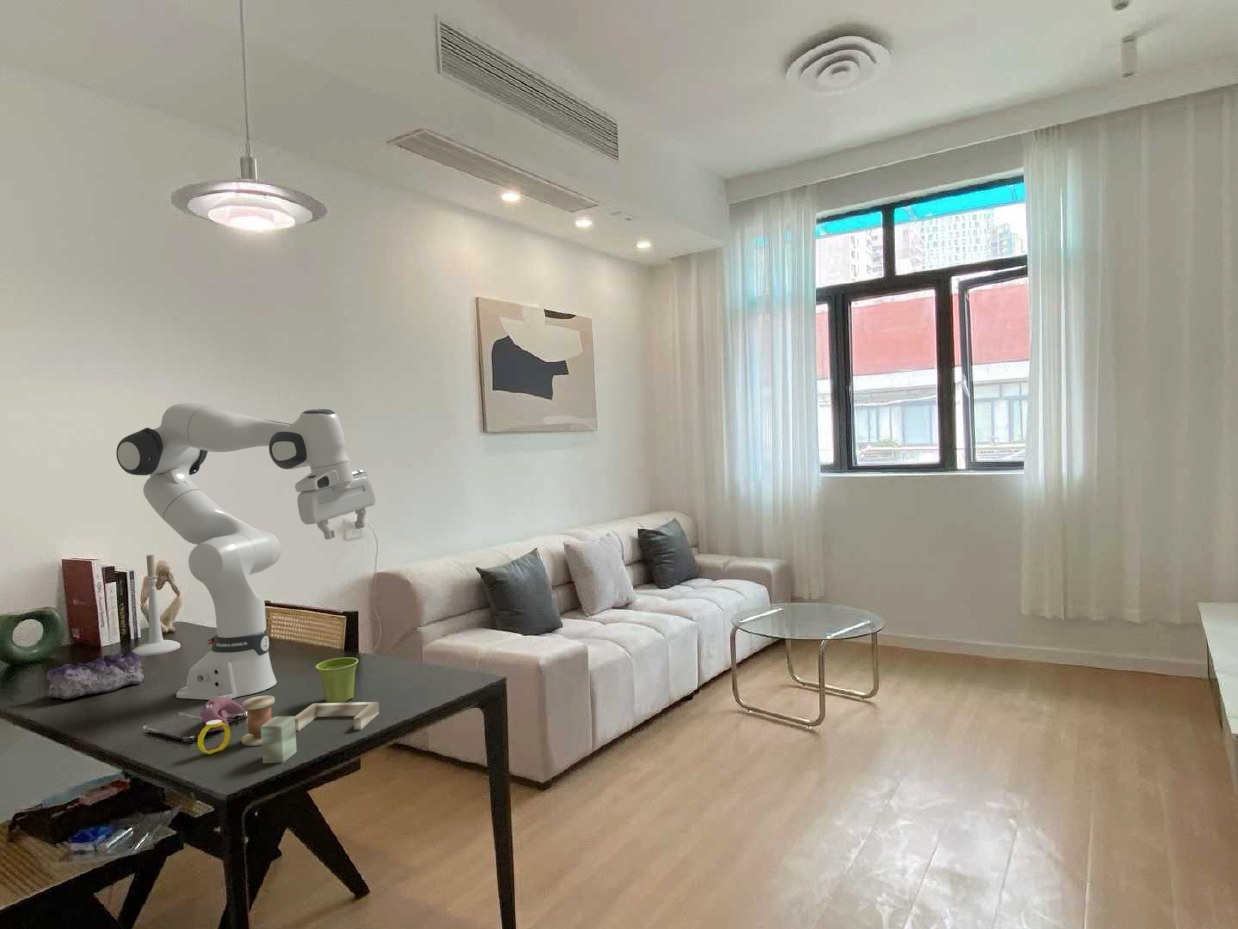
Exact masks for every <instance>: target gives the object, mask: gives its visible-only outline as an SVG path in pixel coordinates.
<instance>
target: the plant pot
mask: <svg viewBox="0 0 1238 929" xmlns="http://www.w3.org/2000/svg"><path fill="white" fill-rule="evenodd" d="M358 663H359V659H358V658H356V657H349V656H348V657H337V658H331V659H327V660H324V661H322V662H319V663H317V664H316V665H315V669H316V670H317V671H318V675H319V676H320V681H321V685H322V689H323V694H324V699H325V703H347V702H348V701H349V700H350V699H353V698H354V695H355V694H354V691H355V690H354V689H355V680H356V679H355V677H356V676H355V675H356V670H357V664H358Z"/></svg>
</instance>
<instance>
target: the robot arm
mask: <svg viewBox="0 0 1238 929" xmlns="http://www.w3.org/2000/svg"><path fill="white" fill-rule="evenodd" d="M346 445H347V444H346V438H345V433H344V430H343V426H342V424H341V421H340V419H339V417H338V415H337V413H336V412H335V411H333V410H331V409H326V408H324V409H323V408H319V409H309V410H304V411H303V412H301V413H300V415H299V417H298V418H297V419H296V420H295V421H294V422H292V423H287V422H282V421H275V420H268V419H263V418H259V417H256V416H252V415H247V414H243V413H240V412H235V411H231V410H228V409H225V408H220V407H217V406H212V405H206V404H201V403H177V404H173V405H171V406H169V407H168V408H167V409H166V410H165V411H164V413H163V415H162V418H161V423H160V425H159V426H158V427H156V428H153V429H152V428H150V427H145V428H143V429H141V430H138V431H136V432H133V433H131V434H129V435H126V436H125V437H123V438H122V439H121V440H120V441H119V442H118V444H117V448H116V451H115V452H116V460H117V463H118V465H119V466H120V468H121V469H122V471H124V472H125V473H127V474H130V475H133V476H150V477H149V478H147V479H146V481H145V483H144V485H143V489H142V490H143V495H144V497H145V499H146V500H147V502H148V504H149V505H150V506H151V508H153V510H154V511H155V513H156V514H157V515H158V516H159V517H160V518H161V519H163V521H164V522H165V523H166V524H167V525H169V527H171V528H172V529H173V530H174V531H175V532H176V533H177V534H178V535H180V537H182V539H184V540H185V541H186V542H188V543H189V544H190V543H191V544H193V545H195V546H194V547H193V549H192V550H191V551H190V554H189V556H188V568H189V571H190V573H191V575H192V576H193V577H194V578H195V579H196V580H197V581H199V582H201V583H202V584H203V585H204V586H205V587H206V589H207V591H208V593H209V595H210V597H211V600H212V603H213V607H214V613H215V623H216V635H214V636H212V637H211V638H210V639H208V640H206V642H207V643H206V645H207V646H209V645H211V648H210V651H209V652H207V653H206V654H205V655H204V656H202V658H200V659H199V660H198V661H197V662H196V663H195V664H193V665H192V666H191V667H190V669H188V670H189V671H188V673H187V677H186V685H185V686H184V687H182V688H180V689H179V690H178V691H177V692H176V698H177V699H178V698H179V699H186V700H187V699H190V700H208V701H209V700H211V699H213V698H215V697H220V696H221V697H222V696H223V695H225V696H226V697H229V698H230V699H231V700H233V699H236V698H238V697H243V696H248V695H253V694H255V693H259V692H260V693H261V692H263V691H266V690H267V689H270V688H272V687H274V686H276V684H277V679H276V676H275V673H274V671H273V667H272V662H271V659H270V658H271V657H270V637H269V636H270V635H269V628H267V622H266V621H267V620H266V618H267V617H266V604H265V599H264V597H263V596H262V595H261V594H259V593H258V592H256V591H255V590H254V588H253V585H252V584H251V581H250V580H251V579H250V576H251V575H254V574H257V573H258V574H259V573H261V572H264V571H265V570H267V569H269V568H271V567H273V565H275V564H276V563H277V562H278V561H279V559H280V557H281V554H282V553H281V552H282V547H281V543H280V541H279V539H278V538H277V536H276V535H274V533H272V532H269V531H265V530H261V529H259V528H256V527H254V526H252V525H251V524H249V523H246V522H245V521H243V520H241V519H239V518H237V517H236V516H233V515H232V514H230V513H229V512H227V511H226V510H225V509H223V508H222V507H220V506H219V505H218V504H217V503H216V502H215V501H214V500H213V499H212V498H210V497H209V496H208V495H207V494H206V493H205V492H204V491H203V490H202V489H201V488H199V486H197V485H196V484H195V483H194V482H193V481H192V479H191V478H190V477H191V476H192V475H194V474H197V473H198V472H199V471H200V469H201V468H200V467H201V466H202V465H203V463H204V461H205V460H206V458H207V456H208V452H210V453H211V452H213V453H229V452H235V451H239V450H246V449H251V448H257V447H268V452H269V455H270V456H269V457H270V458H271V460H272V461H273V463H274V464H275V465H276V466H277V467H279V468H281V469H283V470H295V469H299V468H301V469H302V468H305V467H308V466H309V467H310V473H309V474H307V475H306V476H304V477H303V478H302V479H301V480H299V481H297V482H296V483H295V485H294V488H295V491H296V492H297V493H299V494H298V495H297V498H296V499H297V500H296V502H297V507H298V513H299V518H300V521H301V522H302V523H303V524H304V525H305V526H308V525H315V524H316V525H317V528H318V529H319V530H320V531H321V532H322V533H323V537H324V539H325V540H327V541H328V540H332V539H335V537H336V535H335V531H334V530H335V529H334V530H331V529H330V528H329V527H328V525H329V521H328V520H330V519H334V518H339V517H340V516H343V515H347V514H350V513H353V512H355V514H356V515H357V516H356V521H354V522H353V523H354V526H355V527H354V528H355V529H356V530H360V529H364V528H365V527H366V524H365V517H366V514H367V510H366V508H368V507H372V506H374V505H375V503H376V501H377V500H376V494H375V491H374V488H373V485H372V482H371V480H370V479H369V474H368V473H366V472H365V471H363V470H362V469H358V470H355V471H353V469H352V464H351V461H350V457H349V456H348V454H347V450H346Z"/></svg>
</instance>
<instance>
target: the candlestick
mask: <svg viewBox="0 0 1238 929" xmlns="http://www.w3.org/2000/svg"><path fill="white" fill-rule="evenodd" d="M155 563H156V562H155V554H147V555H146V569H147V576H145V577H144V578H145V579H146V583H147V584H148V586H149V587H148V641H147V642H144V643H143V644H140V645H138V646H137V647H135V648H134V649H132V650H131V653H132V652H134V653H135V654H138V656H139V657H148V656H157V655H161V654H167V653H170V652H174V651H175V650H178V649H179V648H181V643H180V642H178V641H175V640H172V639H164V638H163V632H162V624H161V616H160V607H159V601H158V593H157V591H158V590H157V587H156V584H157V582H158V580H157V579H158V577H159V575H156V567H155V566H156V565H155Z"/></svg>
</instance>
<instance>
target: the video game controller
mask: <svg viewBox="0 0 1238 929" xmlns="http://www.w3.org/2000/svg"><path fill="white" fill-rule="evenodd" d="M238 713H245V714H246V709H243V708H242V704H239V703H238V702H236V701H234V700H233V699H230V698H229V697H226V696H225V695H223V696H222V697H221V696H220V697H215V698H213V699H211V700H208V701H207V702H206V703H205V704H204V706H203V708H202V709H201V711H200V718H201V719H202V721H203V722H204V723H205V724H206V723H207V722H209V721H212V720H222V723H224V724H226V725H228V727H229V728H230V724H229V722H228V720H225V718H227V717H228V716H229V714H230V715H232V714H238ZM213 728H214V729H216V730H218V731H223V732H225V729H224V728H223V726H222V725H220V726H218V727H213Z"/></svg>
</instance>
